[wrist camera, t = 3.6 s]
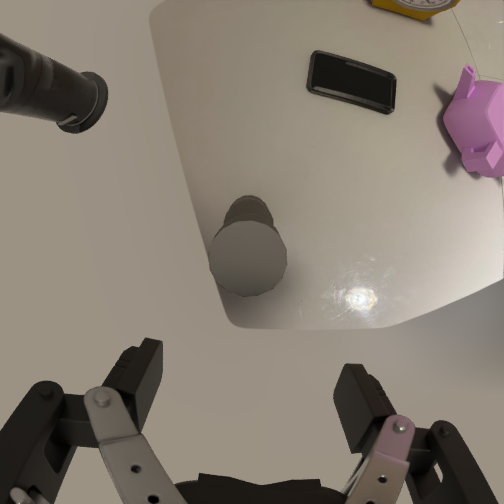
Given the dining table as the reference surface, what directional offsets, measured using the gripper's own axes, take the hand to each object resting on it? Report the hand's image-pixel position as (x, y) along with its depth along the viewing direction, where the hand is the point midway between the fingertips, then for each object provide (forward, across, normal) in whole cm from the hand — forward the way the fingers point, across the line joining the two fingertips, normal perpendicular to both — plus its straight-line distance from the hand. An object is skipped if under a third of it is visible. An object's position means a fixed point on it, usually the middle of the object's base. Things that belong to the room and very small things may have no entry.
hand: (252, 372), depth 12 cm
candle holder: (+35, 0, -2) cm, 35 cm away
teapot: (+35, -39, -27) cm, 59 cm away
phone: (+35, -13, -27) cm, 46 cm away
